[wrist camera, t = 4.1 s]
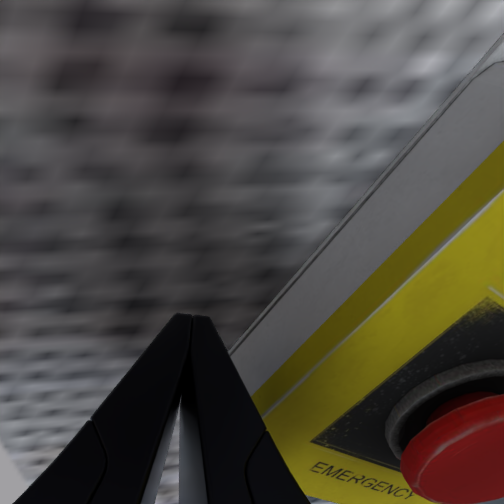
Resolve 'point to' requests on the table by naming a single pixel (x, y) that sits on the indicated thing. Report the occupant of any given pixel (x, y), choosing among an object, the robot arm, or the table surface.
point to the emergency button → (399, 325)
